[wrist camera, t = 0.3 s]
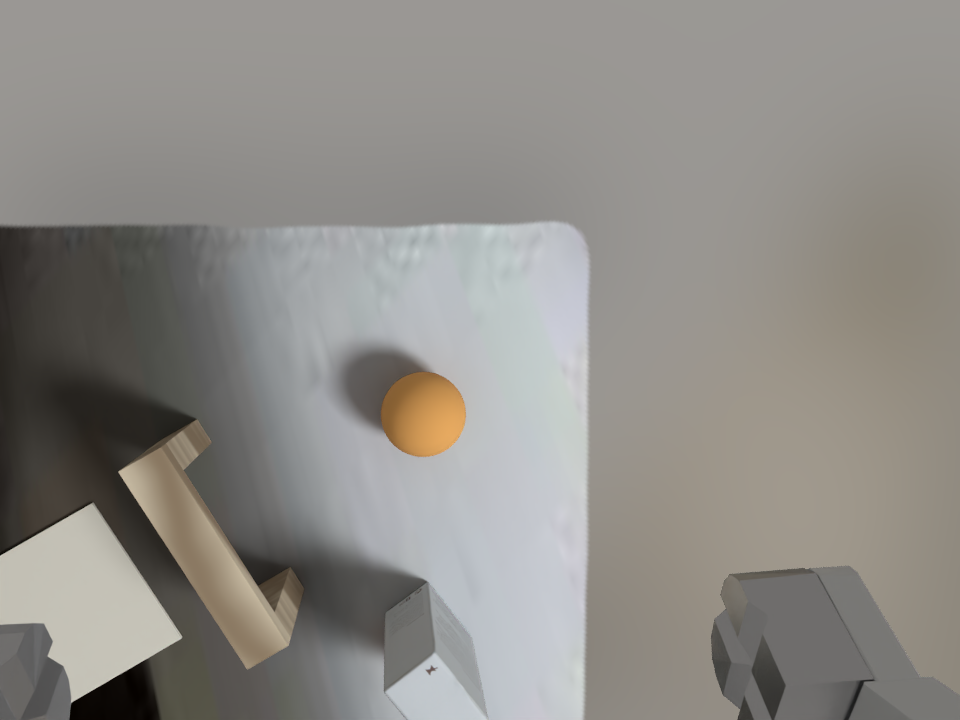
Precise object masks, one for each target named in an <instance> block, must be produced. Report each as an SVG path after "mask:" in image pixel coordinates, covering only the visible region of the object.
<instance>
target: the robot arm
mask: <svg viewBox="0 0 960 720" xmlns="http://www.w3.org/2000/svg"><path fill="white" fill-rule="evenodd" d="M721 597H722V600H723V602H724V605H725V607H726V609H725V610H724V611H723V612H722V613H721V614H720V615H719V616H717V617H716V618H715V620H714V625H713V630H712V635H711V644H712V660H713V664H714V668H715V673H716V677H717V680H718V682H719V685H720V688H721V691H722V694H723V696H725V697H726V698H727V699H728V700H730V701H731V702H732V703H733V704H734V705H735V706H737V707H738V708H739V709H740V712H739V716H738V720H960V695H959V694H957V693H956V692H954V691H953V690H951V689H950V688H949V687H947V686H946V685H944V684H943V683H941V682H940V681H938V680H937V679H936V678H934V677H920V675H919V674H918V672H917V670H916V668H915V667H914V665H913V663H912V662H911V660H910V658H909V657H908V655H907V653H906V652H905V650H904V648H903V647H902V645H901V644H900V642H899V640H898V639H897V637H896V635H895V634H894V632H893V630H892V629H891V627H890V625H889V624H888V622H887V620H886V619H885V617H884V616H883V614H882V612H881V611H880V609H879V607H878V606H877V604H876V602H875V601H874V599H873V598H872V596H871V594H870V593H869V591H868V589H867V588H866V586H865V584H864V583H863V581H862V579H861V578H860V576H859V574H858V573H857V572H856V571H855V570H854V569H853V568H851V567H850V566H839V567H838V566H837V567H823V568H809V569H805V568H799V569H787V570H775V571H763V572H750V573H739V574H729V576H728V577H727V578H726V579H725V580H724V583H723V587H722V591H721ZM52 643H53V641H52V639H51V637H50V635H49V633H48V631H47V629H46V627H45V625H44V623H27V624H4V625H0V720H69V715H70V705H71V692H70V685H69V679H68V676H67V674H66V671H65V669H64V666H62V665H61V664H59V663H57V662H56V661H54V660H53V659H51V658H49V657H48V653H49V651H50V648H51V646H52Z"/></svg>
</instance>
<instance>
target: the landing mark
mask: <svg viewBox="0 0 960 720" xmlns="http://www.w3.org/2000/svg"><path fill="white" fill-rule="evenodd" d="M27 623H44V625H45V627H46V629H47V631H48V633H49V635H50V637H51V639H52V641H53V643H52V646H51V648H50V651H49V653H48V657H49V658H51V659H53V660H54V661H56V662H57V663H59V664H61V665H62V666H64V669H65V671H66V674H67V676H68V679H69V685H70V692H71V702H73V701H74V700H76V699H78V698H80V697H81V696H83V695H85V694H87V693H88V692H90V691H92V690H93V689H95V688H97V687H99V686H100V685H102V684H104V683H106V682H107V681H109V680H111V679H112V678H114V677H116V676H118V675H119V674H121V673H123V672H124V671H126V670H128V669H130V668H131V667H133V666H135V665H137V664H138V663H140V662H142V661H143V660H145V659H147V658H149V657H150V656H152V655H154V654H156V653H157V652H159V651H161V650H162V649H164V648H166V647H168V646H169V645H171V644H173V643H175V642H176V641H178V640H180V639H181V638H182V635H181V634H180V632H179V631H178V629H177V628H176V626H175V625H174V623H173V622H172V620H171V619H170V617H169V616H168V614H167V613H166V611H165V610H164V608H163V607H162V605H161V604H160V602H159V601H158V599H157V598H156V596H155V595H154V593H153V592H152V590H151V589H150V587H149V586H148V584H147V583H146V581H145V580H144V578H143V577H142V575H141V574H140V572H139V571H138V569H137V567H136V566H135V564H134V563H133V561H132V560H131V558H130V557H129V555H128V554H127V552H126V551H125V549H124V548H123V546H122V545H121V543H120V542H119V540H118V539H117V537H116V536H115V534H114V533H113V531H112V530H111V528H110V527H109V525H108V524H107V522H106V521H105V519H104V518H103V516H102V515H101V513H100V512H99V510H98V509H97V507H96V506H95V504H94V503H91V504H90V505H88V506H86V507H84V508H83V509H81V510H79V511H77V512H76V513H74V514H72V515H70V516H69V517H67V518H65V519H63V520H62V521H60V522H58V523H56V524H55V525H53V526H51V527H49V528H48V529H46V530H44V531H42V532H41V533H39V534H37V535H35V536H34V537H32V538H30V539H28V540H27V541H25V542H23V543H21V544H20V545H18V546H16V547H14V548H13V549H11V550H9V551H7V552H6V553H4V554H2V555H1V556H0V625H4V624H27Z"/></svg>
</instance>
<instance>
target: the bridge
mask: <svg viewBox="0 0 960 720" xmlns="http://www.w3.org/2000/svg"><path fill="white" fill-rule="evenodd" d="M211 443H212V442H211V441H210V439H209V437H208V436H207V434H206V433H205V431H204V429H203V428H202V426H201V425H200V423H199V422H198V420H195V421H193V422H191V423H190V424H188V425H186V426H184V427H183V428H181V429H179V430H177V431H176V432H174V433H172V434H170V435H169V436H167V437H165V438H163V439H162V440H160V441H159V442H157V443H156V444H155V445H153V446H152V447H151V448H149V449H148V450H147V451H145V452H144V453H143V454H141V455H140V456H139V457H137V458H136V459H135V460H133V461H132V462H131V463H129V464H128V465H127V466H125V467H124V468H123V469H121V470H120V471H119V472H118V473H119V474H120V476H121V477H122V479H123V480H124V482H125V483H126V485H127V486H128V488H129V489H130V491H131V492H132V494H133V495H134V497H135V499H136V500H137V502H138V503H139V505H140V506H141V508H142V509H143V511H144V512H145V514H146V515H147V517H148V518H149V520H150V521H151V523H152V525H153V526H154V528H155V529H156V531H157V532H158V534H159V535H160V537H161V538H162V540H163V541H164V543H165V544H166V546H167V547H168V549H169V550H170V552H171V554H172V555H173V557H174V558H175V560H176V561H177V563H178V564H179V566H180V567H181V569H182V570H183V572H184V573H185V575H186V576H187V578H188V580H189V581H190V583H191V584H192V586H193V587H194V589H195V590H196V592H197V593H198V595H199V596H200V598H201V599H202V601H203V602H204V604H205V605H206V607H207V609H208V610H209V612H210V613H211V615H212V616H213V618H214V619H215V621H216V622H217V624H218V625H219V627H220V628H221V630H222V631H223V633H224V635H225V636H226V638H227V639H228V641H229V642H230V644H231V645H232V647H233V648H234V650H235V651H236V653H237V654H238V656H239V657H240V659H241V660H242V662H243V664H244V665H245V667H246V668H247V670H248V669H249V668H251V667H253V666H254V665H256V664H258V663H260V662H261V661H263V660H265V659H266V658H268V657H270V656H272V655H273V654H275V653H277V652H278V651H280V650H282V649H284V648H285V647H287V646H289V642H290V638H291V635H292V631H293V628H294V624H295V621H296V617H297V613H298V610H299V606H300V603H301V599H302V595H303V592H304V588H303V586H302V584H301V583H300V581H299V580H298V578H297V577H296V575H295V573H294V572H293V570H292V569H291V567H290V568H288V569H286V570H284V571H283V572H281V573H279V574H277V575H276V576H274V577H272V578H271V579H269V580H267V581H265V582H264V583H262V584H260V585H258V586H257V584H256V583H255V581H254V580H253V578H252V576H251V575H250V573H249V572H248V570H247V569H246V567H245V565H244V564H243V562H242V561H241V559H240V558H239V556H238V555H237V553H236V551H235V550H234V548H233V547H232V545H231V544H230V542H229V541H228V539H227V537H226V536H225V534H224V533H223V531H222V530H221V528H220V526H219V525H218V523H217V522H216V520H215V519H214V517H213V516H212V514H211V512H210V511H209V509H208V508H207V506H206V505H205V503H204V502H203V500H202V498H201V497H200V495H199V494H198V492H197V491H196V489H195V488H194V486H193V484H192V483H191V481H190V480H189V478H188V477H187V475H186V473H185V472H184V469H185V468H186V467H187V466H188V465H189V464H190V463H191V462H192V461H193V460H194V459H195V458H196V457H197V456H198V455H199V454H200V453H201V452H203V451H204V450H205V449H206V448H207V447H208V446H209V445H210V444H211Z"/></svg>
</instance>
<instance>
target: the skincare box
mask: <svg viewBox="0 0 960 720" xmlns="http://www.w3.org/2000/svg"><path fill="white" fill-rule="evenodd" d="M384 654H385V655H384V693H385V694H386V695H387V697H388V698H389V699H390V700H391V702H392V703H393V704H394V705H395V706H396V708H397V709H398V710H399V711H400V712H401V714H402V715H403V716H404V717H405V718H406V720H488V715H487V710H486V705H485V699H484V695H483V690H482V684H481V680H480V675H479V670H478V665H477V660H476V655H475V649H474V644H473V640H472V637H471V636H470V634H469V633H468V632H467V631H466V629H465V628H464V627H463V625H462V624H461V623H460V622H459V620H458V619H457V618H456V617H455V615H454V614H453V613H452V611H451V610H450V609H449V608H448V606H447V605H446V604H445V603H444V601H443V600H442V599H441V598H440V596H439V595H438V594H437V592H436V591H435V590H434V589H433V587H432V586H431V585H430V584H429V582H427V583H425V584H424V585H423V586H421V587H420V588H419V589H417V590H416V591H414V592H413V593H412V594H410V595H409V596H408V597H406V598H405V599H404V600H402V601H401V602H400V603H398V604H397V605H396V606H394V607H393V608H391V609H390V610H389V611H387V612H386V613H385V649H384Z"/></svg>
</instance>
